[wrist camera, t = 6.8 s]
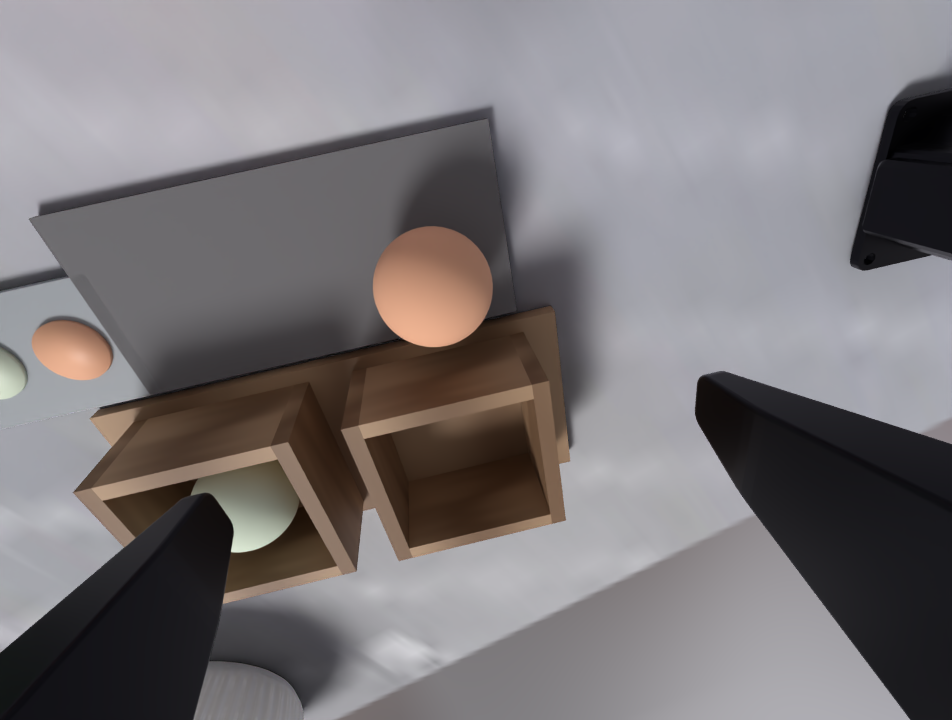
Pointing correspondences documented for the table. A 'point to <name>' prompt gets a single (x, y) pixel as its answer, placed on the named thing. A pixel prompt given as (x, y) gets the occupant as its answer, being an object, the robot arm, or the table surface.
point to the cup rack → (357, 449)
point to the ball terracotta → (432, 286)
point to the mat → (274, 253)
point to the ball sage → (253, 502)
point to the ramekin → (246, 694)
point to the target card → (58, 355)
